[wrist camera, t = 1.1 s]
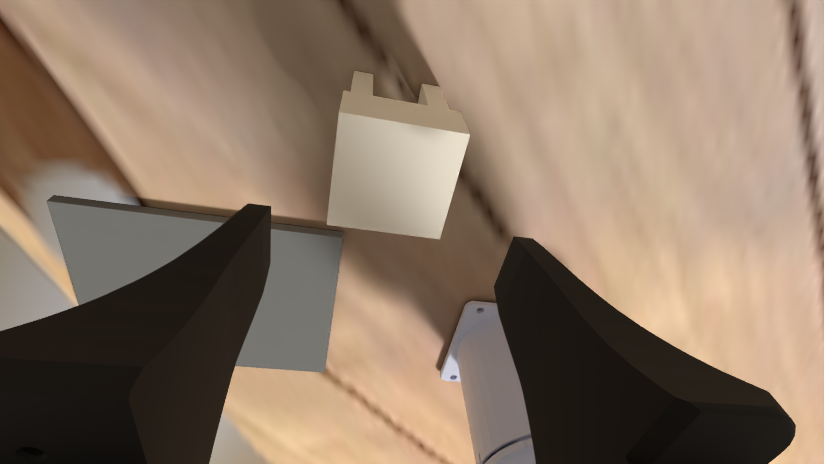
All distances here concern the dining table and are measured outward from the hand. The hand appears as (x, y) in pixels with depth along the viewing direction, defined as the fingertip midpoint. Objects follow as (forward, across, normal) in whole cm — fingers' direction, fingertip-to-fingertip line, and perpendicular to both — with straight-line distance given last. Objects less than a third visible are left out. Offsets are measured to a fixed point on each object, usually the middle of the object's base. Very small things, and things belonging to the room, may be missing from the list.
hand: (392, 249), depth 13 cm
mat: (+10, +9, +13) cm, 19 cm away
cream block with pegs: (+10, 0, 0) cm, 10 cm away
